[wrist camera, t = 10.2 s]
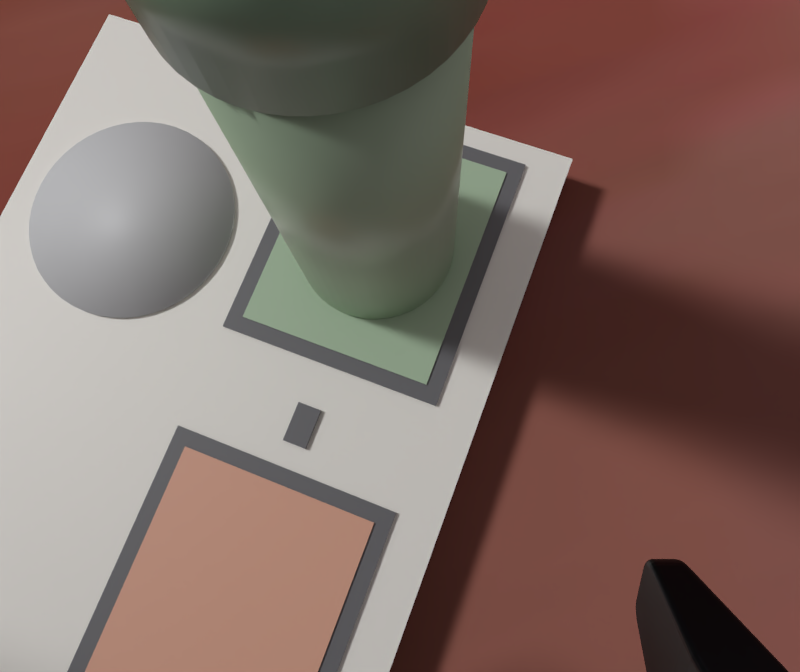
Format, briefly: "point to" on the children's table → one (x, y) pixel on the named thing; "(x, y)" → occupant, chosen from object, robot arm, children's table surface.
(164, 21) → the green joystick knob
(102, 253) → the white flat rectangular board
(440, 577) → the children's table surface
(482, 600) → the children's table surface
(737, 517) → the children's table surface
